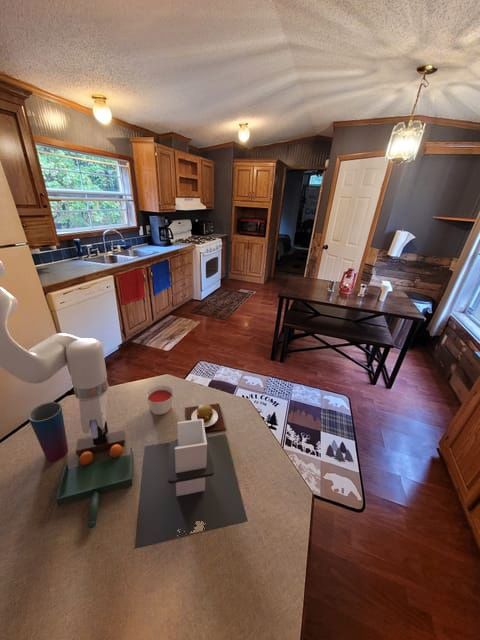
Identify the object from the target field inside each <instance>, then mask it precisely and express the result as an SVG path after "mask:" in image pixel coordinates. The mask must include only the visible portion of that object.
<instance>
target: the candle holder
mask: <svg viewBox="0 0 480 640" xmlns="http://www.w3.org/2000/svg"><path fill="white" fill-rule="evenodd" d="M141 469H142V470H141V480H140V488H139V489H140V490H139V500H138V509H137V518H136V519H137V520H136V527H135V528H136V529H135V538H134V549H138V548H141V547H146V546H150V545H154V544H159V543H162V542H166V541H170V540H174V539H178V538H182V537H187V536H191V535H192V534H190V532H191V531H192V532H193V530H195V529H194V527H196V526H197V525H196V524H195V523H196V521H200V522H201V521H203V522H204V524H205V523H206V524H205V525H203V526H204V528H205V529H204V528H203V530H204V531H203V532H207V531H211V530H215V529H220V528H225V527H228V526H232V525H235V524H239V523H244V522H247V521H248V517H247V514H246V513H247V512H246V510H245V505H244V501H243V498H242V494H241V490H240V487H239V486H240V485H239V481H238V478H237V473H236V469H235V465H234V461H233V457H232V453H231V449H230V445H229V441H228V437H227V434H226V433H224V434H218V435H210V436H208V435H207V433H205V428H204V422H203V419H197V420H190V421H186V420H182V421H177V438H176V439H174V440H171V441H170V442H163V443H156V444H150V445H144V448H143V460H142V468H141ZM178 529H179V531H180V533H179V532H178V531H177V530H178ZM180 529H181V530H180ZM184 531H185V532H184ZM186 534H187V535H186ZM177 535H178V536H179V537H178V536H177ZM177 537H178V538H177Z"/></svg>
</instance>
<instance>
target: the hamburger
mask: <svg viewBox="0 0 480 640" xmlns="http://www.w3.org/2000/svg"><path fill="white" fill-rule="evenodd" d="M184 410H185V419H186V420H185V421H190V420H197V419H203V422H204V428H205V434H209V433H215V432H222V431H226V430H227V429H226V425H225V420H224V418H223V413H222V410H221V406H220V403H211V404H208V403H201V404H200V405H195V406H188V407H187V406H186V407H184Z"/></svg>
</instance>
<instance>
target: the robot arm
mask: <svg viewBox="0 0 480 640" xmlns="http://www.w3.org/2000/svg"><path fill="white" fill-rule="evenodd" d="M5 273H6V269H5V265H4V264H3V262H2V260H0V280H3V278H4V276H5ZM18 306H19V301H18V299H17V298H16V297H15V296H13V295H12V294H11V293H9V292H8V291H7V290H6V289H4V288H3V287H2V286H0V368H1V369H2V370H4V371H6V372H7V373H9V374H10V375H12V376H13V377H14V378H17V379H18V380H20V381H22V382H25V383H28V384H33V385H36V384H42V383H44V382H46V381H48V380H49V379H51V378H52V377H54V376H55V375H56V374H57V373H58V372H59V371H60V370H62V369H63V368H64V367H66V366H68V369H69V373H70V378H71V383H72V388H73V392H74V396H75V398H76V399H78V400H79V401H78V403H79V415H80V423H81V428H82V432H83V434H87V433H89V432H91V436H92V440H93V443H94V445H99V444H104V443H107V437H106V434H107V433H109V429H108V423H107V420H106V419H107V411H108V403H107V402H108V400H107V392H108V390H109V381H108V373H107V367H106V361H105V353H104V348H103V344H102V343H101V341H100V340H98V339H96V338H93V337H91V338H90V337H89V338H88V337H86V338H81V337H78V336H75V335H73V334H68V333H62V332H61V333H60V332H59V333H55V334H52V335H50V336H49V337H47V338H45V339H43V341H40V342H39V343H37V344H36V345H34V346H32V347H31V348H30V349H26V348H24V347H23V346H21V345H20V344H19V343H18V342H17V341H16V340H14V338H12V336H11V333H10V332H9V330H8V321H9V319H10V318H11V317H12V316H13V314H14V313H15V312H16V310H17V309H18ZM104 426H105V431H106V432H105V431H104ZM98 428H100V429H101V430H98Z"/></svg>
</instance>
